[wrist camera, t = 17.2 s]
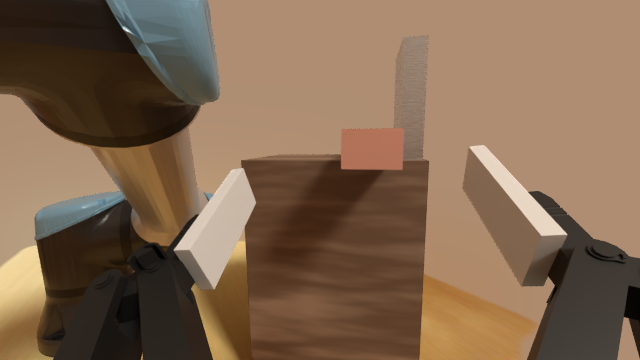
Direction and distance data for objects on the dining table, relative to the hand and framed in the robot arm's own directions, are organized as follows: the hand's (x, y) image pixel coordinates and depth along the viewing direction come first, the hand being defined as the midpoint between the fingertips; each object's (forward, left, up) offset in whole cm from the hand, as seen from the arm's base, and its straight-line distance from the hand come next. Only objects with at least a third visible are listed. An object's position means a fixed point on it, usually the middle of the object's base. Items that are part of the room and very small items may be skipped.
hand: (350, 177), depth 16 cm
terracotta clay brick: (-9, +12, 0) cm, 15 cm away
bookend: (-8, +18, 0) cm, 20 cm away
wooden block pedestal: (-15, +13, -30) cm, 36 cm away
